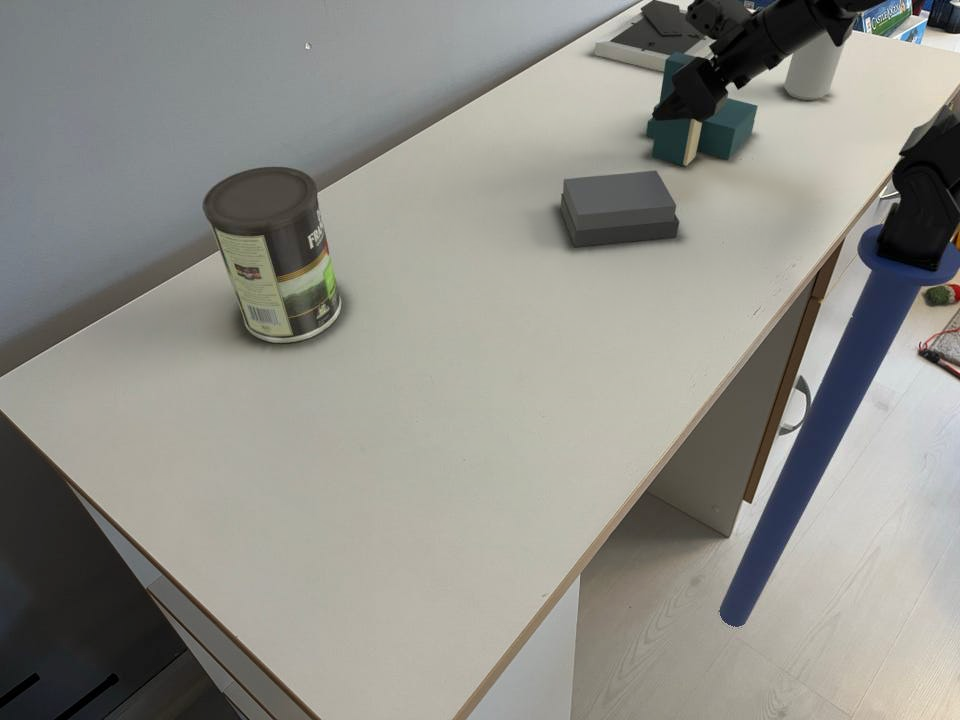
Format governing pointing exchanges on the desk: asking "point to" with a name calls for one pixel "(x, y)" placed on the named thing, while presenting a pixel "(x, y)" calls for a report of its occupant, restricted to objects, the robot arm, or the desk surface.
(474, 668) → the desk surface
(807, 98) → the beverage can
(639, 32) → the picture frame
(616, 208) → the grey books
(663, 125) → the teal book
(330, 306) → the coffee can
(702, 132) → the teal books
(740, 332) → the desk surface
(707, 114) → the robot arm
